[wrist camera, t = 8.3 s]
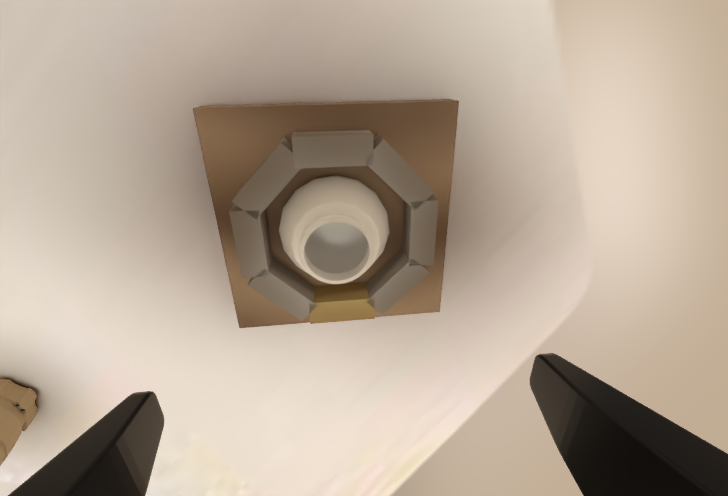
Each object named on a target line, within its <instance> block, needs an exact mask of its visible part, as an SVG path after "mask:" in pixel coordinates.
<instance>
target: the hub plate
mask: <svg viewBox="0 0 728 496" xmlns="http://www.w3.org/2000/svg"><path fill="white" fill-rule="evenodd" d="M458 104H459V101H455V100H450V99H449V100H411V101H374V102H336V103H299V104H261V105H224V106H200V107H196V108H193V111H194V116H195V121H196V125H197V130H198V135H199V139H200V144H201V149H202V153H203V158H204V163H205V168H206V172H207V177H208V182H209V186H210V191H211V196H212V201H213V205H214V210H215V215H216V219H217V224H218V229H219V233H220V238H221V243H222V248H223V252H224V257H225V262H226V266H227V271H228V276H229V281H230V285H231V290H232V295H233V299H234V304H235V309H236V313H237V318H238V323H239V328H246V327H258V326H270V325H283V324H295V323H307V322H310V323H311V324H312V323H324V322H336V321H348V320H360V319H372V318H375V317H380V316H392V315H404V314H416V313H429V312H440V301H441V290H442V279H443V268H444V257H445V246H446V235H447V224H448V213H449V202H450V191H451V181H452V170H453V159H454V148H455V137H456V126H457V115H458ZM335 175H338V176H342V177H346V178H350V179H355V180H359V181H360V182H361V183H363V184H364V185H365V186H367V187H368V188H370V189H371V190H372V191H374V192H375V193H376V194H377V196H378V198H379V199H380V201H381V203H382V204H383V206H384V208H385V209H386V211H387V215H388V224H389V235H388V239H387V242H386V245H385V248H384V251H383V252H382V254H381V255H380V256H379V257H378V258H377V260H376V261H375V262H374V263H373V264H372V266H371V267H370V268H369V269H368V270H367V271H366V272H364V273H363V274H362V275H361V276H360V277H358V278H357V279H355V280H353V281H350V282H347V283H343V284H329V283H325V282H322V281H319V280H317V279H315V278H314V277H313V276H311V275H310V274H308V273H306V272H304V271H303V270H302V269H300V268H299V267H297V266H296V265H295V264H294V262H293V261H292V260H291V259H290V257H289V256H288V255H287V254H286V252H285V251H284V249H283V245H282V241H281V237H280V233H279V227H280V221H281V216H282V210H283V207H284V206H285V205H286V203H287V202H288V200H289V199H290V197H291V196H292V194H293V193H294V192H295V190H297V189H298V188H300V187H302V186H303V185H305V184H307V183H308V182H310V181H311V180H313V179H316V178H323V177H329V176H335Z"/></svg>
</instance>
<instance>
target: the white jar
mask: <svg viewBox="0 0 728 496" xmlns="http://www.w3.org/2000/svg"><path fill="white" fill-rule="evenodd" d="M279 233H280V237H281V241H282V245H283V249H284V251H285V252H286V254H287V255H288V256H289V257H290V259H291V260H292V261H293V262H294V264H295V265H296V266H297V267H299V268H300V269H302V270H303V271H304V272H306V273H308V274H310V275H311V276H313V277H314V278H315V279H317V280H319V281H322V282H325V283H329V284H343V283H347V282H350V281H353V280H355V279H357V278H358V277H360V276H361V275H362V274H363V273H364V272H366V271H367V270H368V269H369V268H370V267H371V266H372V264H373V263H374V262H375V261H376V260H377V258H378V257H379V256H380V255H381V254H382V252H383V251H384V248H385V245H386V242H387V239H388V235H389V224H388V215H387V211H386V209H385V208H384V206H383V204H382V203H381V201H380V199H379V198H378V196H377V194H376V193H375V192H374V191H372V190H371V189H370V188H368V187H367V186H365V185H364V184H363V183H361V182H360V181H359V180H355V179H350V178H346V177H342V176H338V175H335V176H329V177H323V178H316V179H313V180H311V181H310V182H308V183H307V184H305V185H303V186H302V187H300V188H298V189H297V190H295V192H294V193H293V194H292V196H291V197H290V199H289V200H288V202H287V203H286V205H285V206H284V207H283V210H282V216H281V221H280V227H279Z"/></svg>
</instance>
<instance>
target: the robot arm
mask: <svg viewBox="0 0 728 496" xmlns="http://www.w3.org/2000/svg"><path fill="white" fill-rule="evenodd" d="M530 386H531V389H532V391H533V394H534V396H535V398H536V401H537V403H538V405H539V407H540V410H541V412H542V414H543V417H544V419H545V421H546V423H547V426H548V428H549V430H550V433H551V435H552V437H553V439H554V442H555V444H556V446H557V448H558V450H559V452H560V454H561V456H562V458H563V459H564V461H565V463H566V465H567V467H568V468H569V470H570V472H571V474H572V476H573V477H574V479H575V481H576V483H577V485H578V486H579V488H580V490H581V492H582V494H583V495H584V496H728V454H727V453H725V452H724V451H722V450H720V449H718V448H717V447H715V446H713V445H711V444H710V443H708V442H706V441H705V440H703V439H701V438H699V437H698V436H696V435H694V434H692V433H691V432H689V431H687V430H686V429H684V428H682V427H680V426H679V425H677V424H675V423H674V422H672V421H670V420H668V419H667V418H665V417H663V416H662V415H660V414H658V413H656V412H655V411H653V410H651V409H649V408H648V407H646V406H644V405H643V404H641V403H639V402H637V401H636V400H634V399H632V398H630V397H628V396H627V395H625V394H623V393H622V392H620V391H618V390H616V389H615V388H613V387H611V386H610V385H608V384H606V383H605V382H603V381H601V380H599V379H598V378H596V377H594V376H593V375H591V374H589V373H587V372H586V371H584V370H582V369H581V368H579V367H577V366H575V365H573V364H572V363H570V362H568V361H567V360H565V359H563V358H562V357H560V356H558V355H556V354H554V353H548V354H539V355H537V356H536V357H535V360H534V364H533V368H532V372H531V376H530ZM163 427H164V416H163V413H162V410H161V407H160V405H159V402H158V399H157V397H156V395H155V393H154V392H151V391H147V392H137V393H133V394H131V395H130V396H128V397H127V398H126V399H125V400H123V401H122V402H121V403H120V404H119V405H117V406H116V407H115V408H114V409H113V410H111V411H110V412H109V413H108V414H106V415H105V416H104V417H103V418H102V419H100V420H99V421H98V422H97V423H96V424H94V425H93V426H92V427H91V428H90V429H88V430H87V431H86V432H85V433H83V434H82V435H81V436H80V437H79V438H77V439H76V440H75V441H74V442H73V443H71V444H70V445H69V446H68V447H66V448H65V449H64V450H63V451H62V452H60V453H59V454H58V455H57V456H56V457H54V458H53V459H52V460H51V461H49V462H48V463H47V464H46V465H45V466H43V467H42V468H41V469H40V470H39V471H37V472H36V473H35V474H34V475H32V476H31V477H30V478H29V479H28V480H26V481H25V482H24V483H23V484H22V485H20V486H19V487H18V488H17V489H16V490H14V491H13V492H12V493H11V494H9V495H8V496H145V494H146V491H147V487H148V484H149V480H150V476H151V472H152V468H153V465H154V461H155V457H156V453H157V450H158V446H159V442H160V438H161V435H162V431H163Z"/></svg>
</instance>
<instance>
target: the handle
mask: <svg viewBox="0 0 728 496" xmlns="http://www.w3.org/2000/svg"><path fill="white" fill-rule="evenodd" d="M36 398H37V394H36V393H35V391H34V390H32V389H31V388H25V387H22V386H19V385H17V384H15V383H13V382H12V381H11V380H9V379H0V466H1V464H2V463H3V461H4V460H5V459H6V457H7V456H8V454H9V453H10V451H11V450H12V448H13V447H14V445H15V443H16V441H17V440H18V438H19V436H20V434H21V433H22V431H24V430H26V429H27V427H28V426H29V424H30V423H31V422H32V420H33V419H34V417H35V415H36V413H37V412H38V408H37V407H36V405H35V399H36Z"/></svg>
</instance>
